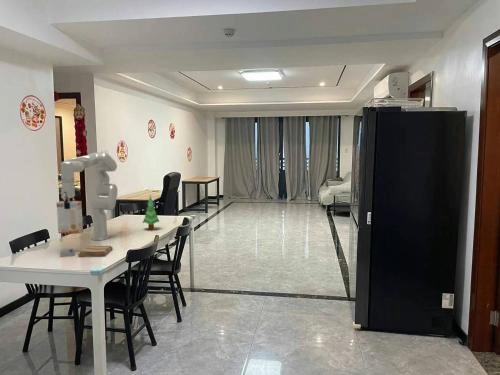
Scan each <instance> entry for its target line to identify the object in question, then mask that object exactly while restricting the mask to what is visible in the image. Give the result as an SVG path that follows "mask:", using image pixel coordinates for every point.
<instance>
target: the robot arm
mask: <svg viewBox="0 0 500 375" xmlns="http://www.w3.org/2000/svg"><path fill="white" fill-rule="evenodd" d="M91 167H93V168H94V170H95V173H96V176H97V182H96V187H95V195H97V196H96V197H93V198H91V200H90V206H91V207H90V208H91V211H92V228H93V230H92V231H93V236H92V237H91V240H93V241H104V240H108V239H109V238H110V235H108V227H107V226H108V224H107V222H108V221H107V214H106V211H111V210H114V209H115V207H116V204H117V203H116V202H117V197H118V193H119V192H118V186H117V185H116V184H115V183H110V178H111V177H110V175H109V174H108V173H107V172H116V170H117V167H118V164H117V162H116V161H115V159H114V158H112V156H111V155H110V154H108V153H107V152H92V153H91V152H90V153H89V154H87V155H82V156H78V157H73V158H69V159H66V160H64V161H62V162H60V176H61V186H60V187H61V192H60V193H61V194H60V196H61V197H60V198H61V199H62V201H64V209H70V203H69V201H75V196H76V189H75V173H81V172H83V171H84V170H85V169H89V168H91Z"/></svg>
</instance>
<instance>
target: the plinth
mask: <svg viewBox="0 0 500 375" xmlns="http://www.w3.org/2000/svg"><path fill="white" fill-rule="evenodd" d="M112 251H113V246H111V245H88V246H86V248H84V249H82V250H80V251H79V253H78V255H77V256H78V258H94V257H95V258H97V257H99V258H103V257H106V256H107V255H109V253H111V252H112Z"/></svg>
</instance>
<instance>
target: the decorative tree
mask: <svg viewBox="0 0 500 375" xmlns="http://www.w3.org/2000/svg"><path fill="white" fill-rule="evenodd" d="M151 196H152V195H150V194H149V199H148V203H147V208H146V212H145V214H144V215H145V216H144V218H143V220H142V223H143V224H144V223H146V224H148V231H154V230H155V224H157V223H159V222H160V220H159V217H158V215H157V212H156V210H155V207H154V203H153V199H152V197H151ZM153 229H154V230H153Z"/></svg>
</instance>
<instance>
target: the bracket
mask: <svg viewBox="0 0 500 375" xmlns="http://www.w3.org/2000/svg"><path fill="white" fill-rule="evenodd" d="M75 256H76V250H75V249H73V248H69V249H68V250H67V249H66V250H60V252H59V257H60V258H66V257H75Z"/></svg>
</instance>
